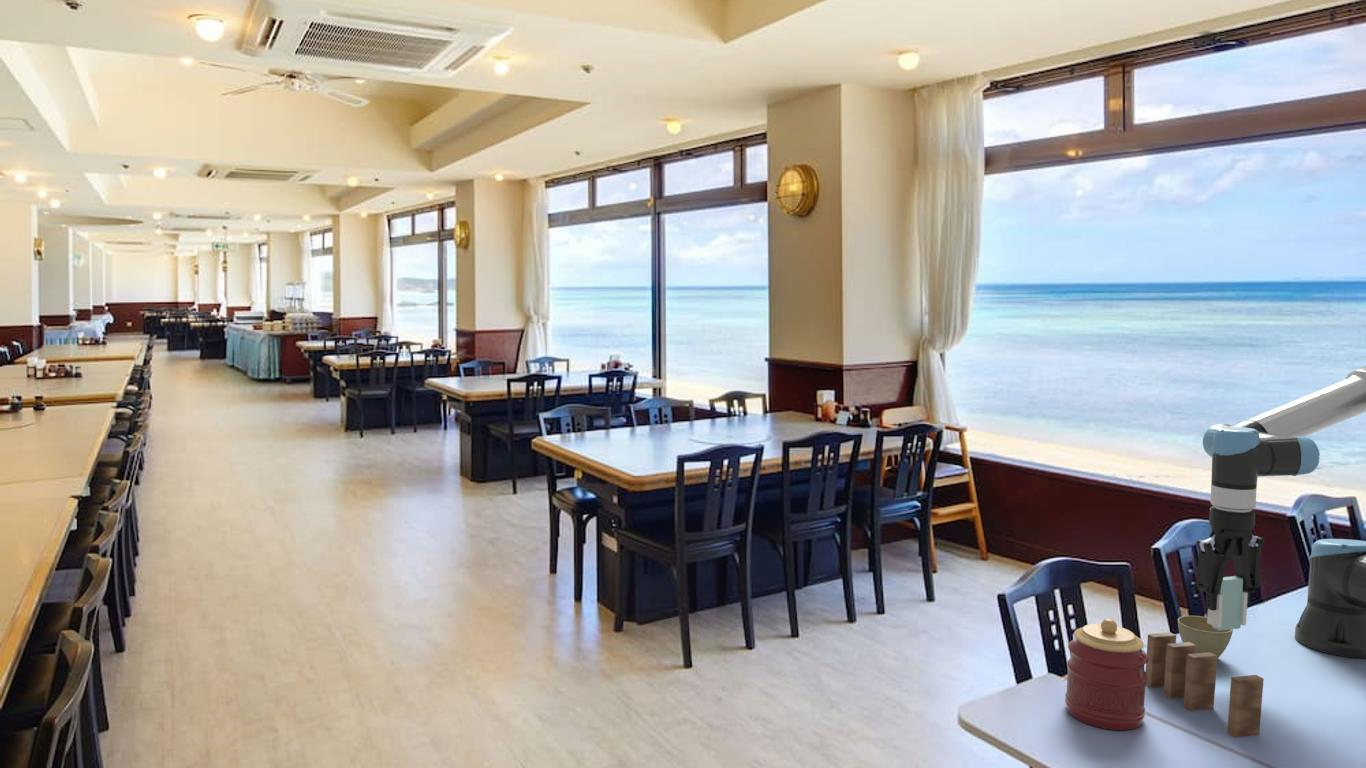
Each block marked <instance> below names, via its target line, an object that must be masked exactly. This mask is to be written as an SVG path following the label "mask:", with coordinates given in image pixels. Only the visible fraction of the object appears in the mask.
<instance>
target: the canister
mask: <svg viewBox="0 0 1366 768" xmlns="http://www.w3.org/2000/svg"><path fill="white" fill-rule="evenodd" d="M1073 637H1074V639H1072V640H1071V641H1069V642H1068V644H1067V648H1068V651H1069V652H1070V658H1069V659H1068V660H1067V664H1066V665H1067V679H1066V681H1067V683H1066V692H1065V698H1064V699H1065V700H1064V701H1065V705H1066V706H1065V707H1066V710H1067V712H1068V713H1069V715H1071V716H1072V717H1074V718H1075V719H1077V720H1078V721H1079V722H1082V723H1085V724H1087V725H1089V726H1093V727H1096V728H1101V729H1106V730H1112V731H1113V730H1114V731H1129V730H1134V729H1136V728H1139V727H1141V725H1142V724H1143V721H1144V719H1145V715H1146V713H1145V712H1146V708H1145V699H1146V698H1145V697H1146V686H1147V685H1146V679H1147V674H1146V670H1145V666H1146V663H1147V662H1148V655H1147V652H1145V651H1144V650H1143V648H1144V646H1145V644H1144V641H1143V640H1142V639H1141V638H1140V637H1138V635H1135V633H1134V632H1132V631H1131V630H1129V629H1127V628H1126V627H1125V628H1124V627H1122V626H1118V625H1117V622H1116V621H1115V620H1114V619H1113V618H1112V619H1111V618H1105V619H1103V620H1102V621H1101V623H1089V624H1086V625H1084V626H1082V627H1080V628H1077V629H1076V630H1075V631H1074V632H1073Z"/></svg>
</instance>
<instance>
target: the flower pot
mask: <svg viewBox="0 0 1366 768" xmlns="http://www.w3.org/2000/svg"><path fill="white" fill-rule="evenodd" d="M1177 626H1178V632H1179V636H1180V640H1181V643H1183V642H1191V643H1193V644H1195V645H1196V654H1197V653H1208V652H1211V653H1213V654H1215V655H1217V660H1218V659H1219V658H1220V657H1221V655H1223V653H1224V652H1225V650H1226V649H1227V647H1228V646H1229V643H1230V641H1231V639H1232V635H1233V631H1234V629H1229V630H1220V631H1218V630H1216V629H1214V628H1212V625H1210V624H1208V623H1207V617H1206V616H1201V615H1182V616H1179V617H1178V618H1177Z"/></svg>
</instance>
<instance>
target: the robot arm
mask: <svg viewBox="0 0 1366 768" xmlns="http://www.w3.org/2000/svg"><path fill="white" fill-rule="evenodd" d="M1363 413H1366V365H1364V366H1361V367H1360V368H1358V369H1355V370H1352V371H1351V372H1349V373H1348V374H1347V375H1346V377H1345V379H1343V380H1342V381H1338V382H1336V383H1334V384H1331V385H1328V386H1327V387H1323V388H1322V389H1320V390H1316V391H1314V392H1312V393H1309V394H1307V395H1304V396H1302V397H1300V398H1297V399H1295V400H1292V401H1290V402H1288V403H1286V404H1283V405H1280V406H1278V407H1276V408H1273V409H1271V410H1268V411H1265V412H1264V413H1261V414H1259V415H1256V416H1254V417H1251V418H1249V419H1246V420H1244V421H1241V422H1238V423H1236V424H1233V425H1231V424H1228V423H1225V424H1220V423H1219V424H1213V425H1211V426H1210V427H1208V428H1207V430H1206V431H1205V432H1204V435H1203V438H1202V446H1203V450H1204V452H1205V453H1206V454H1207V455H1208V456H1210V457H1211V459H1212V460H1211V480H1210V481H1211V485H1210V504H1211V505H1212V506H1211V507H1210V508H1209V520H1208V523H1209V525H1210V526H1211V532H1210V534H1209V538H1206V539H1204V540H1202V539H1198V540H1197V541H1196V546H1197V550H1198V559H1197V561H1198V562H1197V573H1196V574H1197V576H1196V577H1197V578H1196V588H1197V589H1198V590H1201V591H1202V592H1205V595H1206V596H1205V608H1206V609H1207V623H1208V624H1210V625H1212V626H1215V627H1217V628H1221V623H1222V604H1223V595H1221V594H1219V592H1220V588H1221V584H1222V581H1223V577H1225V573H1226V569H1227V566H1228V563H1229V562H1231V559H1232V565H1233V569H1234V576H1238V577H1240V578H1243V589H1242V605H1241V626H1247V615H1248V614H1247V613H1248V607H1249V606H1250V600H1251V599H1250V598H1251V597H1250V596H1251V595H1250V594H1254V593H1255V592H1256V588H1257V589H1258V588H1260V587H1261V577H1262V576H1261V573H1262V571H1261V570H1262V553H1263V552H1262V551H1263V547H1264V544H1265V541H1266V540H1265V538H1264V537H1260V536H1256V535H1253V533H1252V531H1253V530H1254V529H1255V524H1256V511H1255V510H1254V509H1256V508H1257V486H1258V477H1259V478H1260V477H1278V476H1279V477H1282V476H1285V477H1287V476H1288V477H1289V476H1292V477H1296V476H1302V475H1307V474H1311V473H1312V472H1314V471H1315V470H1316V469H1317V468H1318V466H1319V464H1320V450H1319V447H1318V446H1317V444H1316V442H1314V440H1313V439H1311V438H1309V437H1307V436H1309V435H1311V434H1314V433H1317V432H1319V431H1322V430H1324V429H1327V428H1329V427H1332V426H1333V425H1336V424H1338V423H1341V422H1343V421H1347V420H1349V419H1351V418H1353V417H1356V416H1358V415H1361V414H1363ZM1308 567H1309V568H1308V569H1309V571H1308V585H1307V586H1308V587H1307V599H1306V600H1307V602H1306V606H1305V607H1304V609H1303V611H1302V613H1301V615H1300V617H1299V620H1298V623H1296V625H1295V629H1294V638H1295V641H1297V642H1299V643H1300V644H1302V645H1303V646H1306V647H1307V648H1311V649H1313V650H1315V651H1316V650H1317V651H1320V652H1322V653H1326V654H1330V655H1334V656H1340V657H1346V658H1347V657H1348V658H1357V659H1359V658H1360V659H1366V540H1359V539H1347V538H1346V539H1345V538H1321V539H1318V540H1316V541H1315V542H1314V543H1313V544H1312V545H1311V552H1310V555H1309V566H1308Z"/></svg>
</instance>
